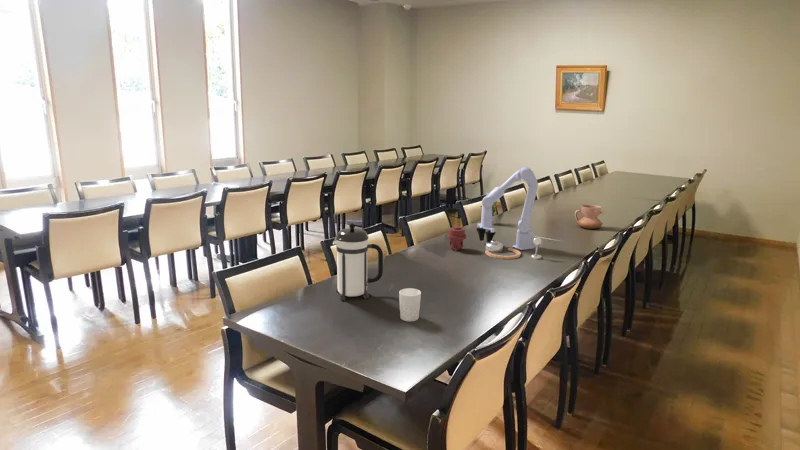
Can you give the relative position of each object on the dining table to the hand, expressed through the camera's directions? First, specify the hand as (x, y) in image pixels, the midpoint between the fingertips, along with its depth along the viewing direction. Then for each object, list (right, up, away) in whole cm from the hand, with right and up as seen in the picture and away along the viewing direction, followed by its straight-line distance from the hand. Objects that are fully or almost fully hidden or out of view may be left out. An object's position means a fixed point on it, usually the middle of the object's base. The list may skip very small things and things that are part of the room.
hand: (485, 242), depth 284 cm
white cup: (-44, -25, -97) cm, 109 cm away
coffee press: (-65, -19, -75) cm, 102 cm away
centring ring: (+8, -6, -17) cm, 19 cm away
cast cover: (+4, -4, -8) cm, 9 cm away
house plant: (+12, +10, +53) cm, 56 cm away
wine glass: (+23, -7, -21) cm, 32 cm away
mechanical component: (-17, -4, -8) cm, 19 cm away
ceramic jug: (+74, +8, +47) cm, 88 cm away
